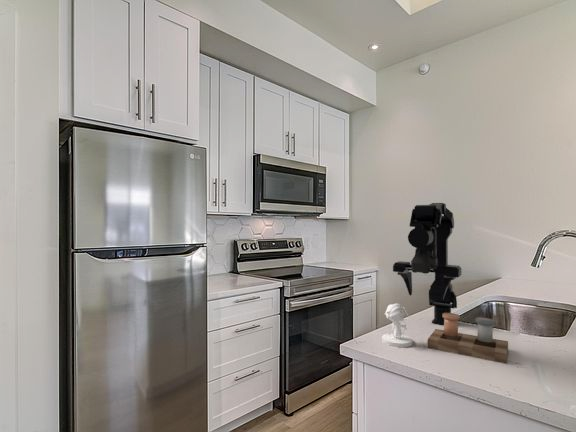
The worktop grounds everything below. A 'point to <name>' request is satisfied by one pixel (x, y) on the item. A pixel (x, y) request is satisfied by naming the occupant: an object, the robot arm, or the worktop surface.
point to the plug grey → (485, 329)
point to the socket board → (469, 346)
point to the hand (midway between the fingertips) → (426, 297)
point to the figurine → (396, 327)
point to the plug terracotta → (451, 324)
